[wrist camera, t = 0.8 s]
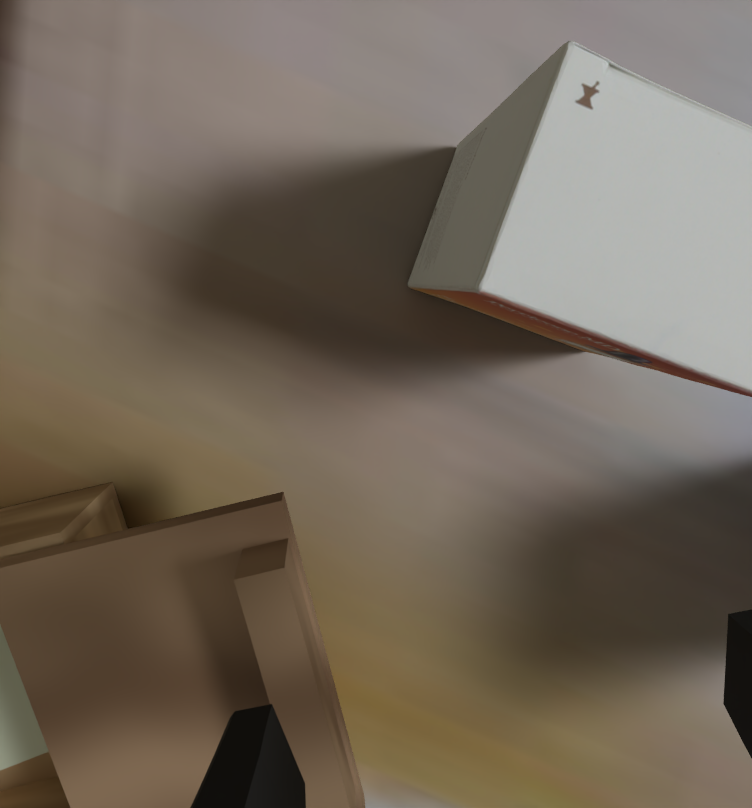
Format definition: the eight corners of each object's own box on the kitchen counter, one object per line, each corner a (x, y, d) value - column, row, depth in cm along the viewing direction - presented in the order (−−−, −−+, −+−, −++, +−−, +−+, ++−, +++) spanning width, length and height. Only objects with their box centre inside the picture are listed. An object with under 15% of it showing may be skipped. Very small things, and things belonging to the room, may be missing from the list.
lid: (364, 796, 22) (370, 869, 19) (107, 862, 22) (76, 946, 19) (283, 491, 20) (276, 526, 17) (-6, 560, 19) (-61, 607, 17)
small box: (403, 286, 24) (463, 292, 14) (456, 140, 23) (564, 29, 13) (591, 356, 25) (776, 409, 15) (648, 220, 24) (887, 176, 14)
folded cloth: (121, 695, 26) (104, 729, 24) (5, 740, 26) (-21, 778, 24) (53, 568, 24) (30, 593, 22) (-68, 615, 24) (-102, 644, 22)
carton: (197, 744, 27) (170, 847, 22) (-14, 797, 27) (-89, 914, 22) (112, 482, 24) (60, 532, 20) (-121, 536, 24) (-233, 602, 19)
